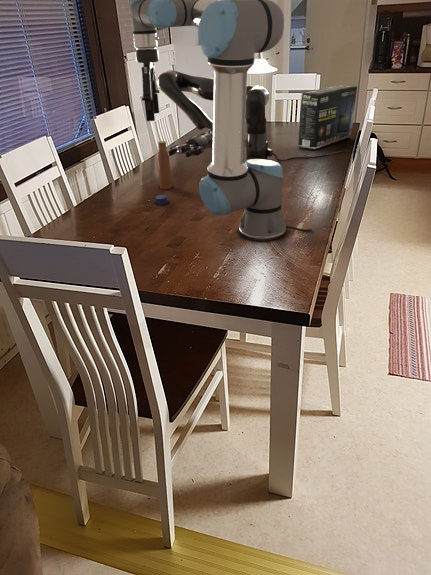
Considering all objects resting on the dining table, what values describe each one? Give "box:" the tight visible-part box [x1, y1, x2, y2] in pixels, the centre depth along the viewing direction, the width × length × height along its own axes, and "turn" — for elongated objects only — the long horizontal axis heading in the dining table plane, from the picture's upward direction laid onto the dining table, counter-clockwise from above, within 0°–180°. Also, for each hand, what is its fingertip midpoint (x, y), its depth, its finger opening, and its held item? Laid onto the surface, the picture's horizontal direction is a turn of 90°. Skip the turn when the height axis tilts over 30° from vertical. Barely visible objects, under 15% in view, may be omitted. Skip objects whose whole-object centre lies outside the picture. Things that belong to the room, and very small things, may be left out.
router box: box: [297, 84, 358, 151], centre depth 238 cm, size 36×11×27 cm, turn 134°
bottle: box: [156, 140, 173, 190], centre depth 187 cm, size 5×5×19 cm
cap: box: [155, 194, 168, 206], centre depth 176 cm, size 4×4×2 cm
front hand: (153, 117), depth 160 cm, fingers open, 13 cm apart
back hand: (177, 154), depth 194 cm, fingers open, 8 cm apart
